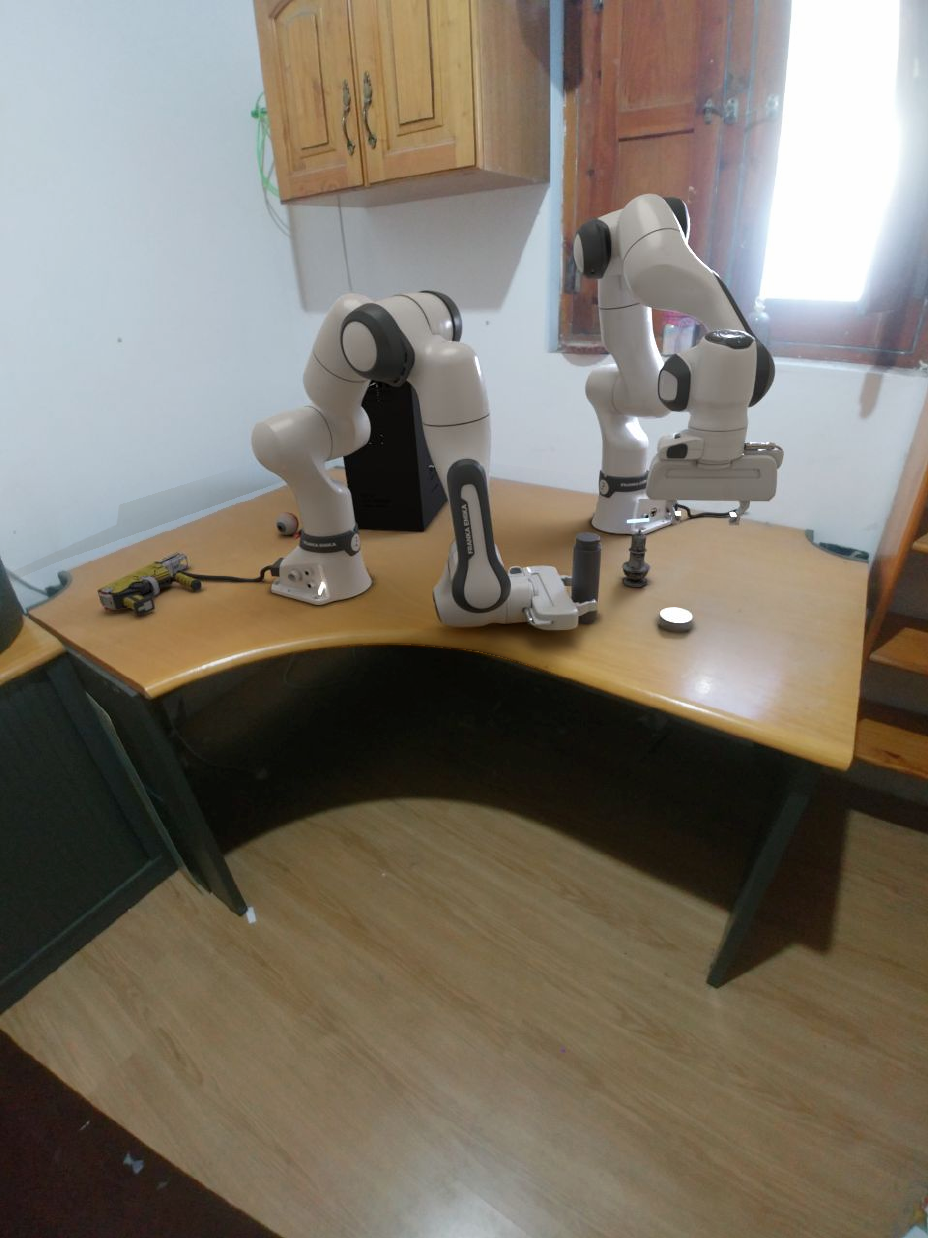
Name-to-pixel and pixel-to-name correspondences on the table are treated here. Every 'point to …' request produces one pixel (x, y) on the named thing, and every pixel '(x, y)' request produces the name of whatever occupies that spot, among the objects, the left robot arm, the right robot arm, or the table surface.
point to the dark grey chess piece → (636, 562)
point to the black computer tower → (393, 464)
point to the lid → (675, 619)
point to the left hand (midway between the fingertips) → (589, 592)
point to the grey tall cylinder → (586, 572)
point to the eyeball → (287, 523)
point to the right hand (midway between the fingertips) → (704, 523)
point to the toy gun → (146, 585)
